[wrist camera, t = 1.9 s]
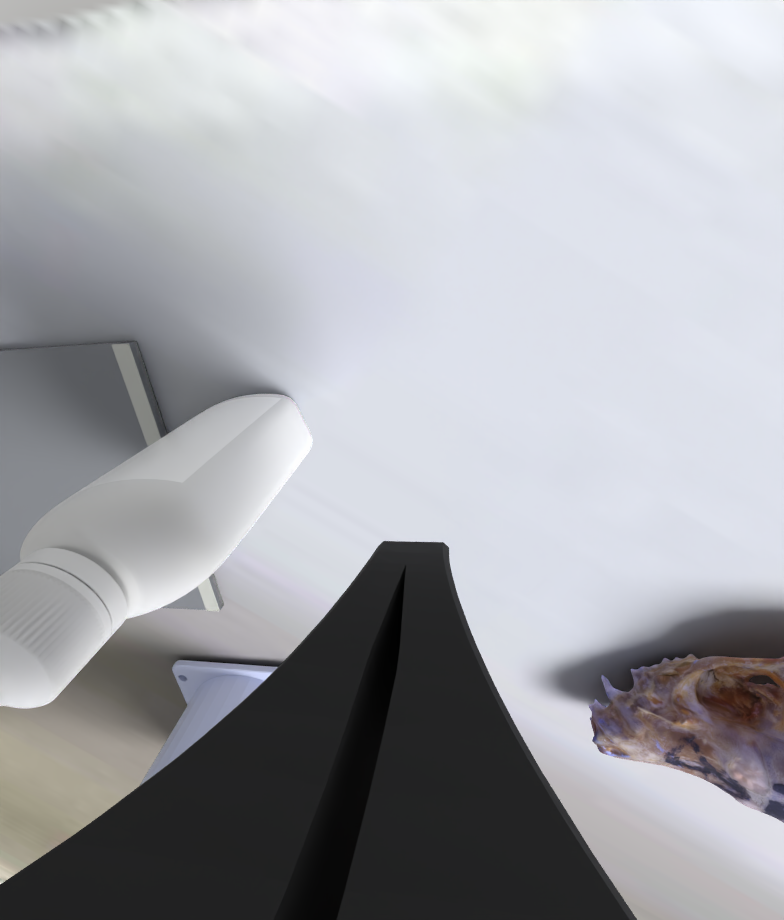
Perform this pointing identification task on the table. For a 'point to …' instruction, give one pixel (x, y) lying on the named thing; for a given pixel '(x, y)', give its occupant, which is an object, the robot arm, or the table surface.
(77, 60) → the table surface
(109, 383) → the mat
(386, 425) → the table surface
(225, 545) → the eye dropper bottle
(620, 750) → the skull
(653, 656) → the table surface
